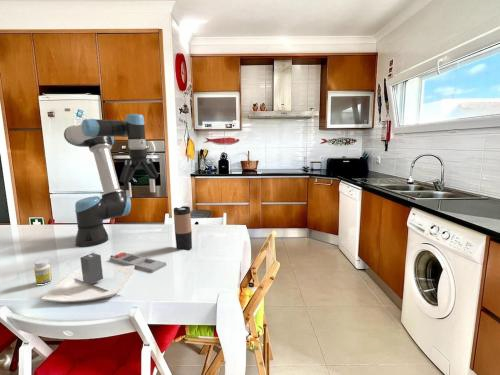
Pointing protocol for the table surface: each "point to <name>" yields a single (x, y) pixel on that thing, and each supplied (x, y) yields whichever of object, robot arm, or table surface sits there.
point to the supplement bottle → (42, 272)
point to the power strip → (138, 262)
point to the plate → (84, 287)
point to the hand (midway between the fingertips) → (141, 194)
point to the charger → (91, 268)
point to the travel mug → (183, 228)
